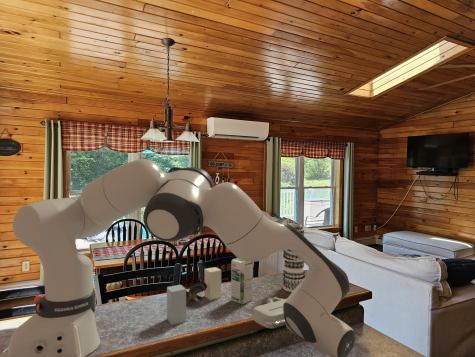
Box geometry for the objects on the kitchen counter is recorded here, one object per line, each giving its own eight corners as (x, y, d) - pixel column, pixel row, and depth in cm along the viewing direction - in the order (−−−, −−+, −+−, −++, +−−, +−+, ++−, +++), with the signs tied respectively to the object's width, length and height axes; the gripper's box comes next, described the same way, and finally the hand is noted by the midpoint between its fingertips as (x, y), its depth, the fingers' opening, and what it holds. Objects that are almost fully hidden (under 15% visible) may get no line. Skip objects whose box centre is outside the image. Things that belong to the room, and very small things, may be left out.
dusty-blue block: (171, 325, 96) (171, 291, 95) (167, 319, 100) (166, 287, 99) (186, 321, 98) (185, 289, 98) (180, 315, 102) (180, 284, 101)
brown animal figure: (201, 305, 107) (212, 290, 115) (189, 287, 107) (201, 274, 116) (185, 313, 110) (197, 298, 118) (173, 295, 110) (186, 282, 119)
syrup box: (230, 300, 114) (230, 259, 114) (241, 295, 118) (241, 256, 118) (242, 305, 110) (242, 263, 110) (253, 300, 114) (253, 259, 114)
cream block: (209, 300, 114) (210, 272, 114) (204, 295, 118) (204, 268, 118) (221, 297, 116) (221, 270, 116) (215, 293, 120) (215, 267, 120)
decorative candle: (306, 285, 129) (307, 223, 128) (305, 293, 120) (305, 227, 119) (284, 283, 131) (284, 222, 131) (280, 291, 123) (281, 226, 122)
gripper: (269, 339, 82) (242, 318, 94) (328, 320, 92) (296, 303, 104) (269, 315, 81) (242, 296, 93) (328, 298, 92) (296, 284, 104)
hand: (271, 300), depth 99 cm, fingers closed
